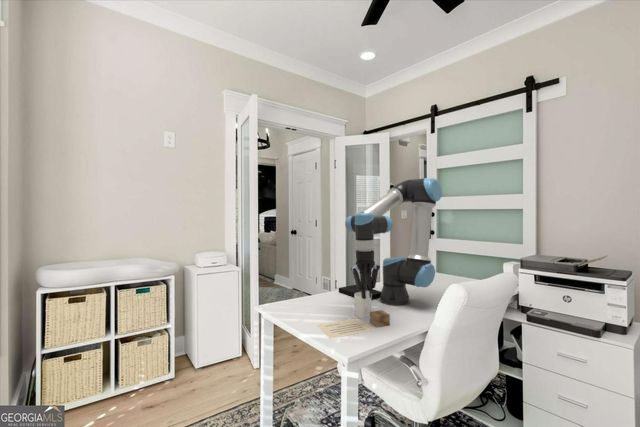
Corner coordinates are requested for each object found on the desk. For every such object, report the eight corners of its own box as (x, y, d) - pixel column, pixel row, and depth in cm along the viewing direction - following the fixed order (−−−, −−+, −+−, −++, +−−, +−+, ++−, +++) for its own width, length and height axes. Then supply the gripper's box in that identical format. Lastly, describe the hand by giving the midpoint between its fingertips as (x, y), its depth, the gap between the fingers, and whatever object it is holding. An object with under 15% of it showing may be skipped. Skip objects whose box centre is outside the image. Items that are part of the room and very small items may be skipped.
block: (381, 321, 136) (381, 310, 136) (389, 326, 131) (389, 314, 130) (369, 323, 134) (369, 311, 134) (377, 328, 128) (377, 316, 128)
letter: (358, 318, 139) (358, 318, 139) (375, 330, 125) (375, 330, 125) (316, 325, 132) (316, 324, 132) (330, 339, 118) (330, 338, 118)
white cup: (353, 312, 147) (353, 291, 147) (370, 312, 147) (370, 291, 147) (355, 318, 139) (355, 296, 139) (373, 318, 139) (372, 296, 139)
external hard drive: (357, 289, 191) (357, 284, 191) (384, 297, 172) (384, 292, 172) (338, 292, 184) (338, 287, 184) (365, 302, 164) (365, 296, 164)
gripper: (373, 247, 135) (375, 301, 136) (346, 250, 130) (348, 305, 131) (383, 249, 128) (384, 306, 129) (355, 252, 123) (357, 311, 124)
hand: (366, 305), depth 130 cm, fingers closed
